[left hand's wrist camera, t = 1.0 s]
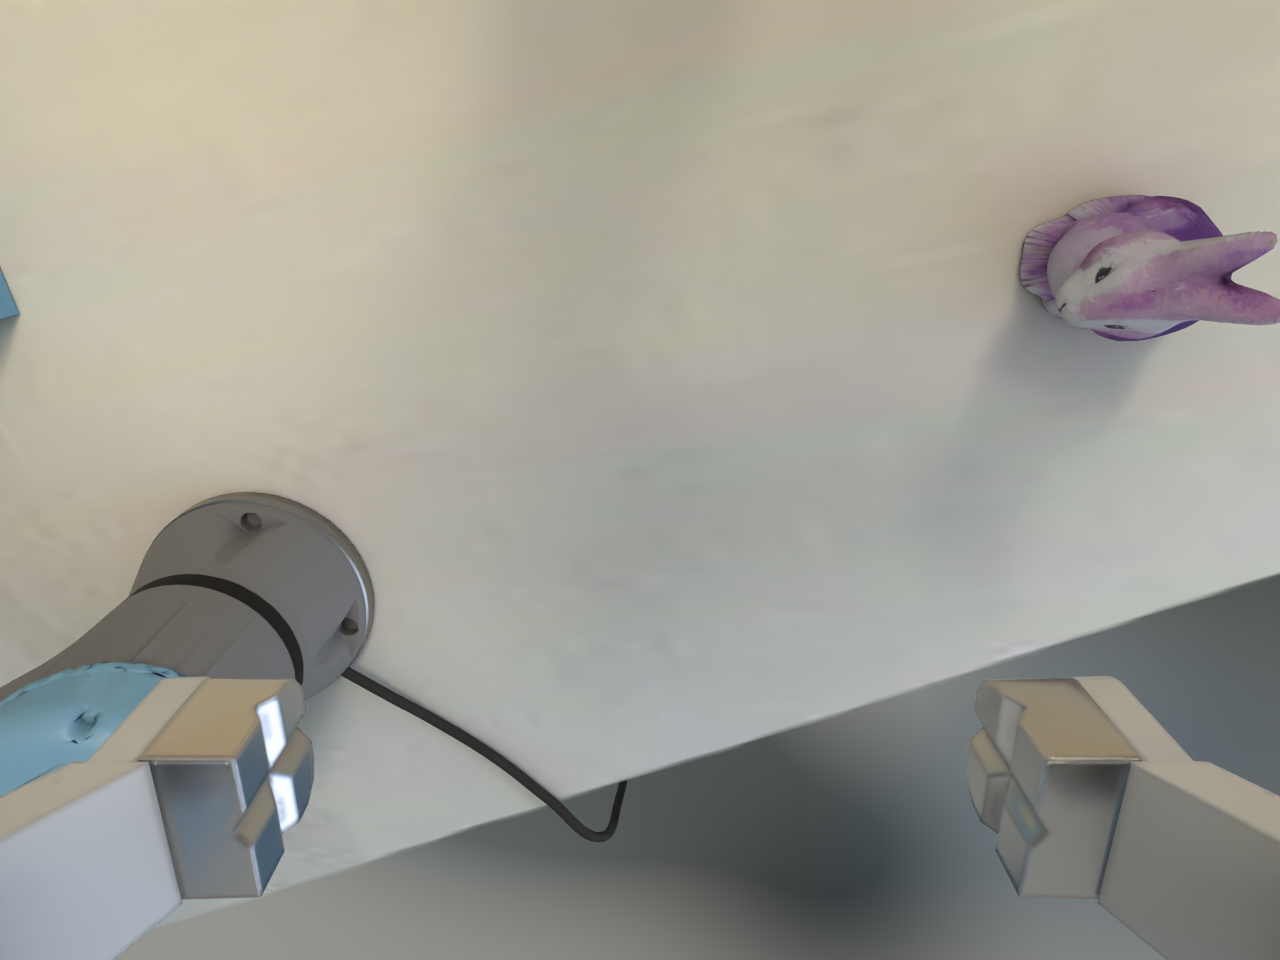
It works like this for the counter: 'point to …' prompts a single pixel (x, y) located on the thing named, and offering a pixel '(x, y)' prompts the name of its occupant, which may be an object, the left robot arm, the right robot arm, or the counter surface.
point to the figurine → (1143, 268)
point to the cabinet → (6, 300)
